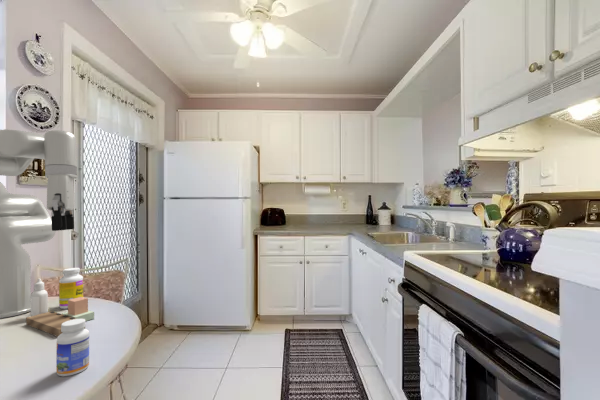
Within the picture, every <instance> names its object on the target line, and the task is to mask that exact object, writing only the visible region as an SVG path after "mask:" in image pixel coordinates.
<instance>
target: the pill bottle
mask: <svg viewBox="0 0 600 400" xmlns="http://www.w3.org/2000/svg"><path fill="white" fill-rule="evenodd" d="M86 322H87V321H85V319H73V320H69V321H66V322H64V323H62V325H61V332H63V333H62V334H60V335H59V336H56V364H55V366H56V369H55V370H56V375H57V376H59V377H70V376H73V375H76V374H78V373H81V372H84V371H85V370H86V369H87V368H88V367H90V330H88V329H87V328H86V325H87V323H86ZM84 328H85V329H84Z"/></svg>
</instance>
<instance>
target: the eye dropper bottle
mask: <svg viewBox="0 0 600 400" xmlns="http://www.w3.org/2000/svg"><path fill="white" fill-rule="evenodd" d="M46 312H49V294H48V291H47V290H46V289H45V281H44V282H43V281H42V279H41V278H40V277H39V278H37V280H36V282H35V283H33V291H32V292H31V311H30V317H31V316H35V315H39V314H42V313H46Z"/></svg>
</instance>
